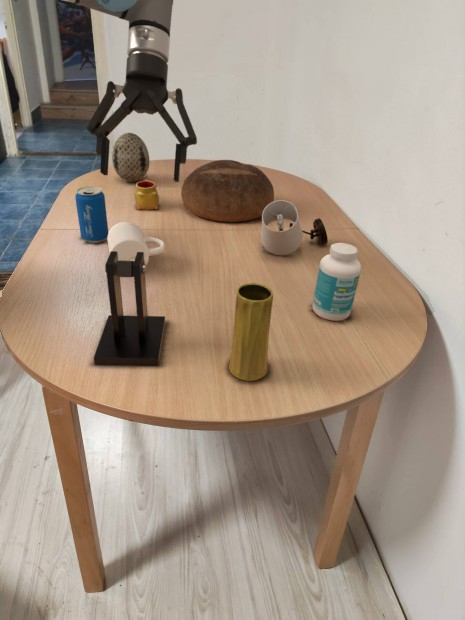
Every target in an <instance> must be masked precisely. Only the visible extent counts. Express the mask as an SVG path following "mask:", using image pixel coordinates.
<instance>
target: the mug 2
mask: <svg viewBox="0 0 465 620" xmlns="http://www.w3.org/2000/svg"><path fill="white" fill-rule="evenodd" d="M157 187H158V186H157V184H155V182H154V181H152V180H148V179H144V180H139V181H137V182H136V184H135V190H134V203H135V205H136V207H137V210H147V211H150V210H158V206H159V204H160V195H159V192H158V189H157Z"/></svg>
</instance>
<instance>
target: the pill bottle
mask: <svg viewBox="0 0 465 620" xmlns="http://www.w3.org/2000/svg"><path fill="white" fill-rule="evenodd" d="M357 254H358V249H357V247H356V246H354V245H352V244H350V243H347V242H346V243H345V242H336V243H332V244H331V246H330V249H329V253H328V254H326V255H324V256H323V257H322V258H321V260H320V262H319V265H318V266H319V267H318V272H317V278H316V283H315V284H316V285H315V288H314V293H313V300H312V305H311V307H312V311H313V312H314V313H315V314H316V315H317V316H318V317H320V318H322V319H324V320H328V321H334V322H336V321H338V322H339V321H343V320H346V319H348V318H349V317H350V315H351V313H352V309H353V307H354V306H353V305H354V301H355V297H356V293H357V288H358V286H359V285H358V284H359V281H360V276H361V272H362V265H361V263H360V261H359V260H358V259H357V256H358V255H357Z"/></svg>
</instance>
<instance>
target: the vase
mask: <svg viewBox="0 0 465 620" xmlns="http://www.w3.org/2000/svg"><path fill="white" fill-rule="evenodd" d="M235 299H236V300H235V307H234V308H235V309H234V321H233V334H232V341H231V350H230V360H229V364H228V370H229V371H230V374H231V375H233V376H234V377H235V378H237V379H239V380H242V381H245V382H246V381H247V382H250V381H252V382H253V381H258V380H260V379H262V378H264V377H265V376H266V374H267V372H268V360H269V358H268V357H269V339H270V326H271V319H272V311H273V310H272V309H273V303H274V302H273V301H274V292H273V290H272V288H270V287H269V286H267V285H265V284H263V283H257V282H248V283H244V284H241V285H239V286H238V287H237V289H236V298H235Z"/></svg>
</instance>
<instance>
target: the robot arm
mask: <svg viewBox="0 0 465 620" xmlns="http://www.w3.org/2000/svg"><path fill="white" fill-rule="evenodd" d="M63 1H64V2H69V3H71V4H75V5H77V6H78V7H81V6H82V7H85V8H88V9H90V10H94V11H97V12H101V13H103V14H106V15H109V16H112V17H116V18H118V19H120V20H123V21H126V22H128V35H127V36H128V37H127V49H126V51H127V52H126V54H127V58H126V67H125V82H124V83H123V85H120V84H116V83H114V81H112V80H109V81H108V82H107V84H106V90H105V94H104V96H103V97H102V99H101V101H100V103H99V104H98V106H97V107H96V110H95V111H94V112H93V115H92V116H91V118H90V120H89V122H88V123H87V125H86V130H87V131H88V132H89V133H90V134H91V135H92V136H95V137H96V142H95V143H96V145H95V147H96V148H95V152H96V155H97V156H98V157H100V166H99V167H100V170H99V171H100V172H99V173H100V174H102V175H103V176H109V161H110V144H111V142H110V141H111V140H110V139H109V137H108V136H109V135H110V134H111V133H112V132H113V131H114V130H115V129H116V128H117V127H118V126H119V125H120V124H121V123H122V122H123V120H125V119H126V118H127V117H128V116H129V115H131V114H132V113H133V112H135V113H137V114H147V115H155V114H156V113H158V115H159V116H160V118H161V119H163V121H164V122H165V124H166V125H167V127H168V128H169V130H170V131H171V133H172V134H173V136H174V137H175V138H176V140H177V141H178V142H179V143H175V153H174V155H175V156H174V167H173V168H174V169H173V170H174V171H173V181H174V183H179V182H180V173H181V171H180V170H181V164H182V165H186V162H187V155H188V147H189V146H192V145H193V146H195V145H197V143H198V137H197V135H196V132H195V129H194V126H193V125H192V122H191V119H190V117H189V114H188V112H187V109H186V106H185V104H184V94H183V90H182V88H179V87H178V88H176V89H175V90H168V75H169V74H168V71H169V65H168V63H169V58H170V57H169V56H170V44H171V28H172V27H171V26H172V17H173V15H172V14H173V6H174V0H62V2H63ZM121 94H122V95H123V96H124V97H125V99H124V100H123V101H122V102H121V103H120V106H119V107H117V109H116V110H115V111H114V112H113V113H112V114H110V116H109V117H108V118H107V115H108V114H109V112H110V110H111V109H112V107H113V105H114V103H115V101H116V98H117V99H118V98H119V97H120V95H121ZM168 100H171V101H172V103H173V104H174V105H176V107H177V111H178V114H179V116H180V118H181V120H182V123H183V126H184V128H185V130H186V133H187V136H186V137H185V135H184V133H183V132H182V131H181V129H180V128H179V126H178V125H177V124H176V122H175V120H174V119H173V118H172V116H171V115H170V113H169V111H168V110H167V108H166V107H165V106H164V105H165V104H166V102H167V101H168ZM106 118H107V119H106ZM105 119H106V120H105ZM104 120H105V121H104Z"/></svg>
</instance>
